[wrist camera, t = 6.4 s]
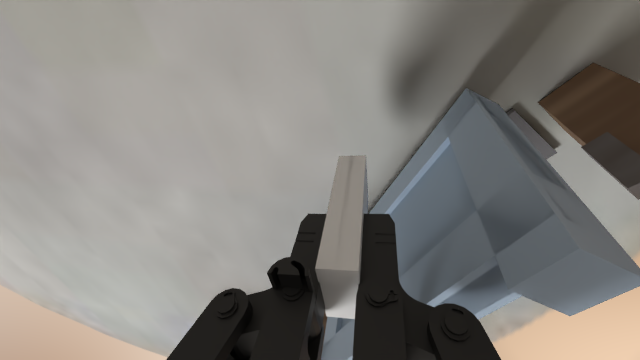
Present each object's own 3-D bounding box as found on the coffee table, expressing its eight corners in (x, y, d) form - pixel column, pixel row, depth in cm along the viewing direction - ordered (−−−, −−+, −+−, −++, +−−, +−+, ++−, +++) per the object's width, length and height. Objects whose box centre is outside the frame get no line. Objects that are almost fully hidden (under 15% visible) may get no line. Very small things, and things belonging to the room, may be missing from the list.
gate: (357, 262, 22) (345, 413, 15) (337, 254, 22) (314, 402, 14) (498, 104, 13) (651, 281, 6) (465, 87, 13) (579, 248, 6)
